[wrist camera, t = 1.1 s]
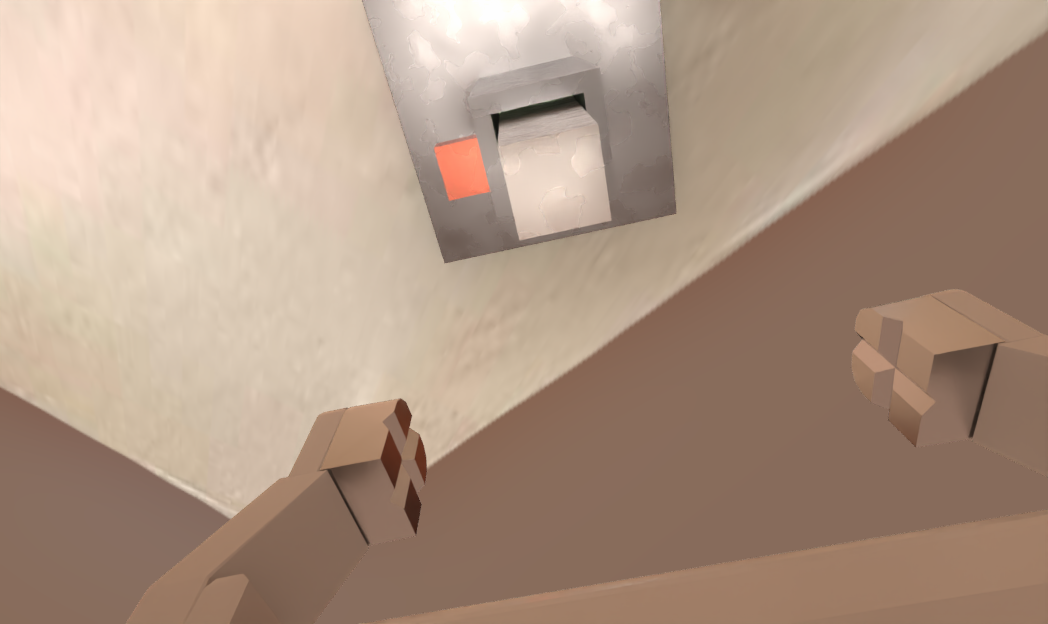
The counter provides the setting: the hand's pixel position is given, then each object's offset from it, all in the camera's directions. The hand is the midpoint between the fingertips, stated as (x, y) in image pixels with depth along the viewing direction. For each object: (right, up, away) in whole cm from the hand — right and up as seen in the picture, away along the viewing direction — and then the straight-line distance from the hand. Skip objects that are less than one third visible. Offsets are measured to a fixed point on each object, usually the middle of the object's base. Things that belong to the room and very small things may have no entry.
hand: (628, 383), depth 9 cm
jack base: (-1, +17, +31) cm, 36 cm away
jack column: (-1, +15, +29) cm, 33 cm away
